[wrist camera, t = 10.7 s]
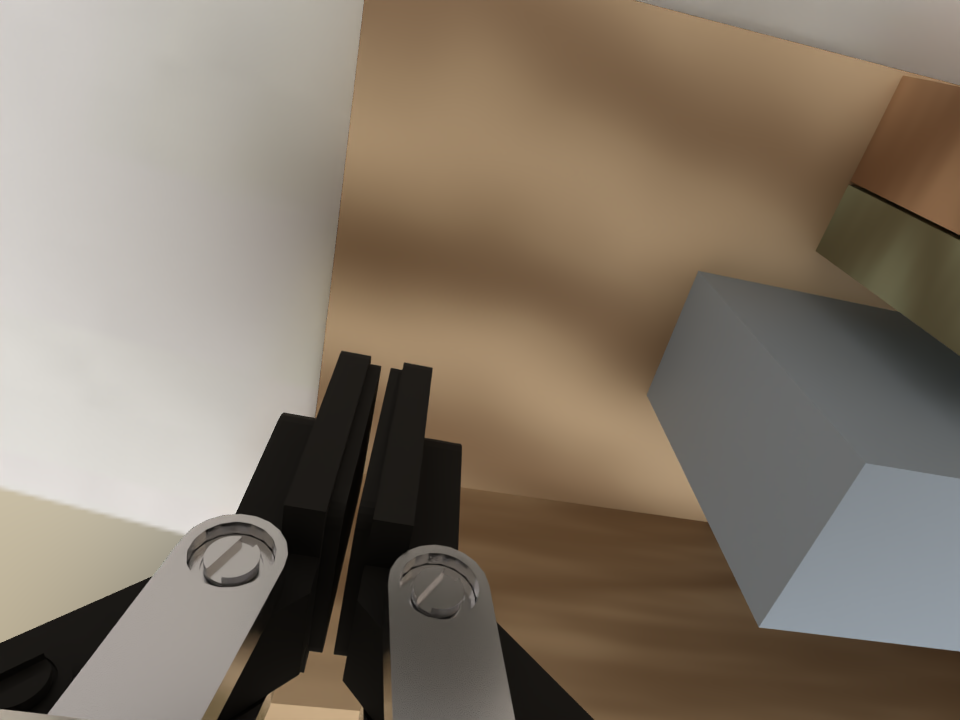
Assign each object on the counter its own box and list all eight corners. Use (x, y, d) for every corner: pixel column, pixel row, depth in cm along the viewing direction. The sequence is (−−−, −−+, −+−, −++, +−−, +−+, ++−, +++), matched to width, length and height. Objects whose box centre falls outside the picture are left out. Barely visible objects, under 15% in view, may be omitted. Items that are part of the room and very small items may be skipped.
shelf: (378, -65, 16) (297, -119, 8) (1172, 143, 20) (1744, 269, 11) (313, 464, 24) (240, 730, 16) (882, 545, 28) (1079, 799, 19)
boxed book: (698, 270, 19) (865, 463, 12) (1040, 340, 21) (1383, 548, 13) (646, 394, 22) (758, 627, 14) (960, 449, 23) (1216, 681, 16)
